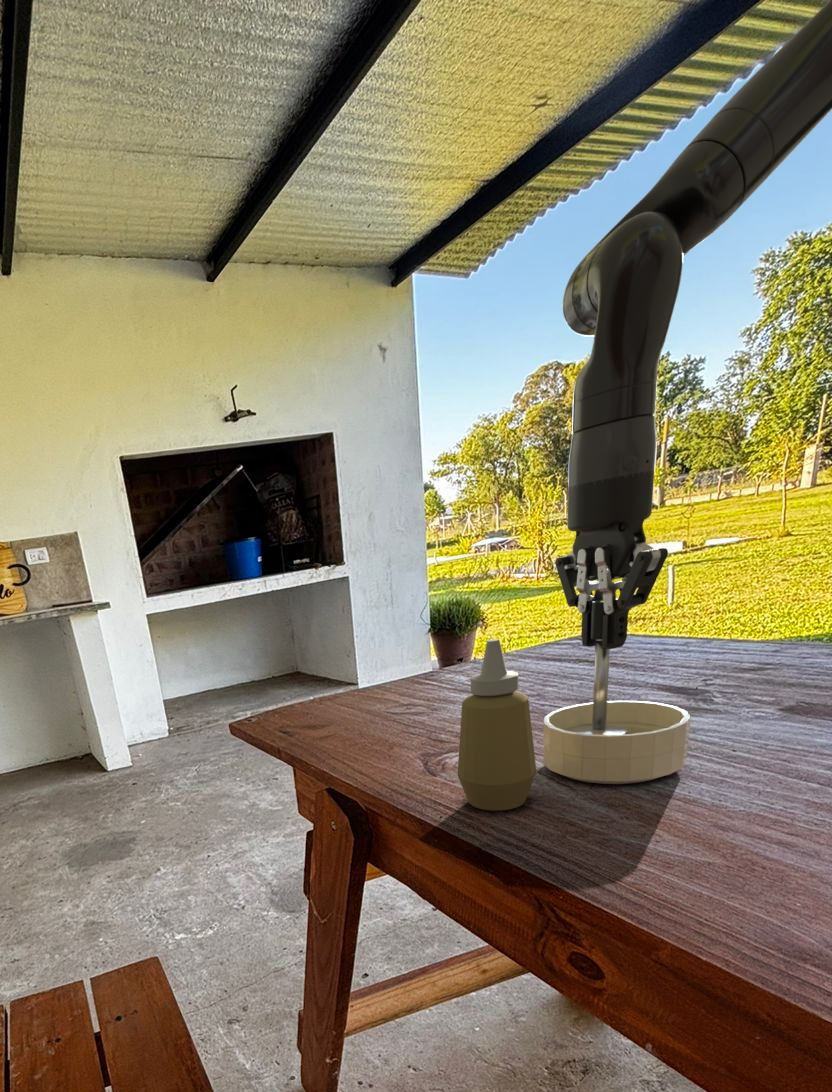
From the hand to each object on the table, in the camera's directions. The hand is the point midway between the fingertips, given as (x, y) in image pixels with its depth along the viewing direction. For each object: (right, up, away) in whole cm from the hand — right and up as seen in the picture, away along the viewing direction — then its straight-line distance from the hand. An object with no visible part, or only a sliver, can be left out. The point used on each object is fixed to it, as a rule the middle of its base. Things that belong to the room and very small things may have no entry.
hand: (602, 645), depth 68 cm
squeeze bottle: (-12, -18, 0) cm, 21 cm away
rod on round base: (+2, -10, +4) cm, 11 cm away
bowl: (+3, -13, +4) cm, 14 cm away
